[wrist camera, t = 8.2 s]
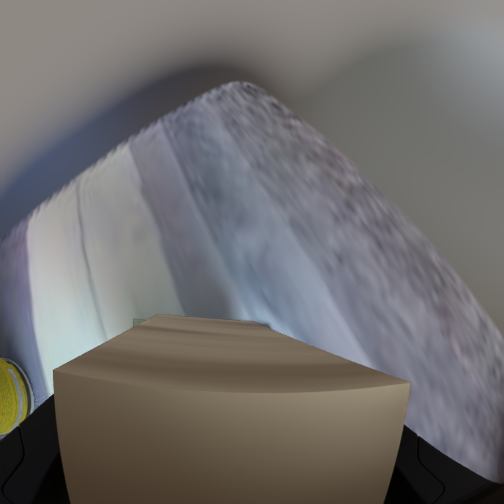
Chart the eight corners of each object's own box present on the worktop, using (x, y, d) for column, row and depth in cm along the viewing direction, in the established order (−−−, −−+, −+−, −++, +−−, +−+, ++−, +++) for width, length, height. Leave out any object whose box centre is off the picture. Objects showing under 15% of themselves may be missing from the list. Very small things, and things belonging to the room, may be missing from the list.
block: (246, 409, 16) (350, 584, 3) (154, 403, 15) (100, 591, 3) (253, 321, 17) (411, 382, 4) (158, 313, 16) (52, 370, 3)
